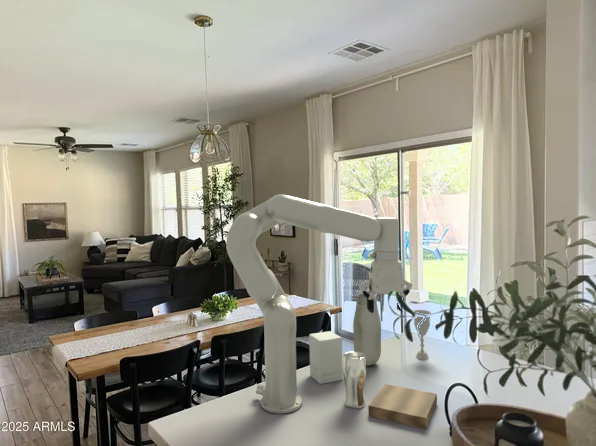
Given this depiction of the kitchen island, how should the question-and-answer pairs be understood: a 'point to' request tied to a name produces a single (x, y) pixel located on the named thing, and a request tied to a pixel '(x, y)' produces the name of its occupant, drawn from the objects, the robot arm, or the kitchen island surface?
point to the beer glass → (354, 378)
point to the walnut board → (403, 405)
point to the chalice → (422, 333)
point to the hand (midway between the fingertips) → (385, 311)
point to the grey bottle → (367, 330)
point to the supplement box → (325, 357)
